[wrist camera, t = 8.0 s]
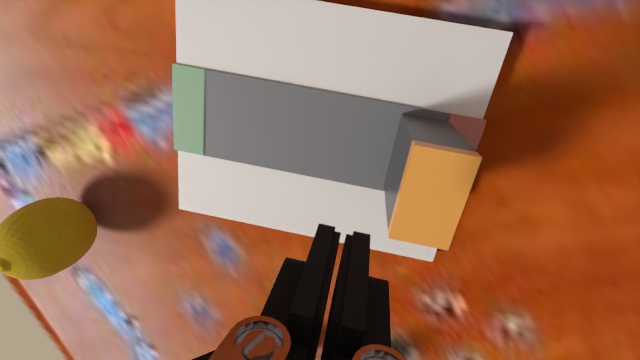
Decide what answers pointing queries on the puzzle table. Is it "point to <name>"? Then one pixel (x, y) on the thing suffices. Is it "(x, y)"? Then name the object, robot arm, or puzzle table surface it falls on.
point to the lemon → (45, 238)
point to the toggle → (428, 181)
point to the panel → (315, 107)
